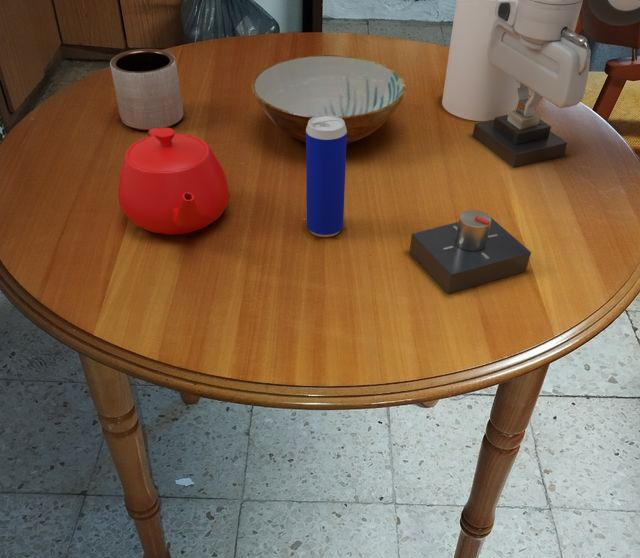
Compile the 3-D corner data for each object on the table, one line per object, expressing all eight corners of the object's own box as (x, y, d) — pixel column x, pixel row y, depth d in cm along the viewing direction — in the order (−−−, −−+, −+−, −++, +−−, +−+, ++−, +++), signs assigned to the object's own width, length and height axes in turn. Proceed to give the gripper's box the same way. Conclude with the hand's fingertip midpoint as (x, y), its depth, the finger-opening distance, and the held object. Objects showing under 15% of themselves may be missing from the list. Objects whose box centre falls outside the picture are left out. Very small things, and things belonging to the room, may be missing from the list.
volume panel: (483, 233, 95) (487, 212, 93) (525, 271, 89) (531, 251, 87) (409, 252, 92) (411, 232, 89) (447, 294, 86) (451, 273, 83)
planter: (140, 138, 113) (128, 79, 106) (110, 116, 119) (97, 58, 112) (195, 121, 118) (188, 62, 111) (164, 100, 124) (155, 43, 116)
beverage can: (338, 217, 98) (341, 112, 86) (347, 236, 94) (351, 129, 83) (303, 221, 97) (302, 115, 86) (310, 240, 93) (310, 133, 82)
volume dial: (449, 242, 88) (453, 216, 85) (467, 230, 90) (472, 204, 87) (474, 254, 86) (479, 228, 83) (492, 242, 88) (498, 216, 85)
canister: (527, 118, 120) (558, -11, 105) (454, 123, 118) (474, -8, 103) (502, 87, 128) (527, -36, 114) (433, 91, 127) (449, -33, 112)
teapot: (110, 185, 103) (91, 104, 94) (210, 168, 107) (200, 88, 98) (141, 278, 87) (121, 191, 78) (256, 254, 91) (250, 168, 82)
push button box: (520, 125, 118) (526, 102, 115) (564, 155, 111) (571, 131, 108) (472, 136, 115) (476, 112, 112) (513, 167, 108) (519, 143, 105)
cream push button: (524, 118, 112) (527, 107, 110) (537, 127, 110) (540, 116, 108) (506, 122, 111) (508, 111, 109) (519, 131, 109) (522, 120, 107)
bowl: (358, 92, 127) (361, 45, 121) (429, 149, 112) (436, 99, 106) (233, 116, 119) (228, 68, 113) (290, 181, 104) (289, 129, 98)
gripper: (611, 38, 93) (581, 137, 104) (523, -6, 106) (504, 86, 116) (574, 45, 91) (547, 144, 102) (489, -1, 104) (473, 92, 114)
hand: (524, 113), depth 109 cm, fingers closed, pressing on cream push button
